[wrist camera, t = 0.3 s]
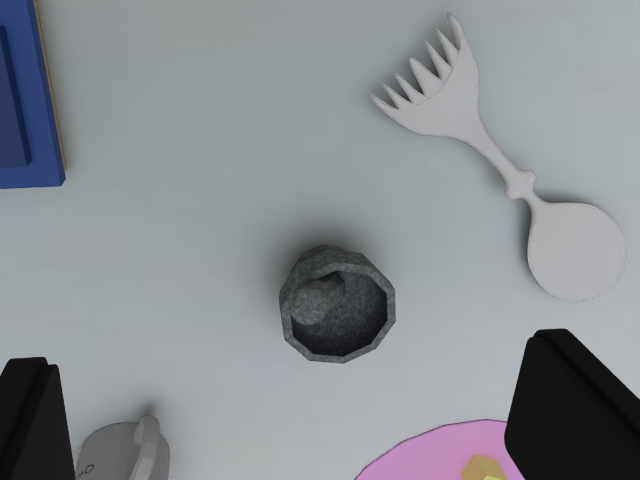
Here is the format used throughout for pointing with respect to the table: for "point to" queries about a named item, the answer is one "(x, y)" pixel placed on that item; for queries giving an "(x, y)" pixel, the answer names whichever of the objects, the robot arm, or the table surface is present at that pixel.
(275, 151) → the table surface
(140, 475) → the mug
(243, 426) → the table surface
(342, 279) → the mortar and pestle
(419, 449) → the platter
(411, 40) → the table surface
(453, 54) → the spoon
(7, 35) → the brush
